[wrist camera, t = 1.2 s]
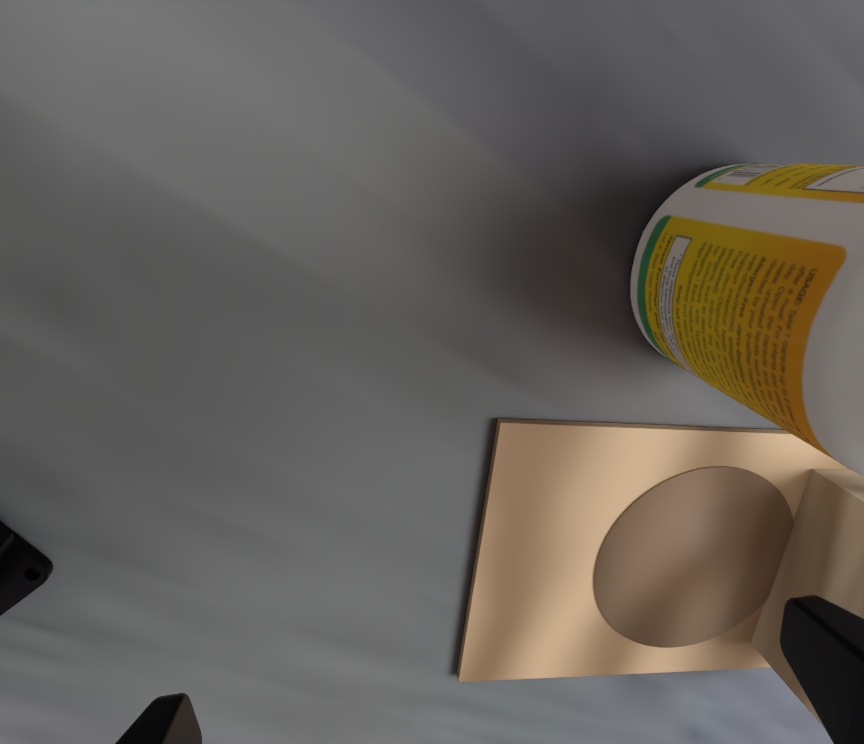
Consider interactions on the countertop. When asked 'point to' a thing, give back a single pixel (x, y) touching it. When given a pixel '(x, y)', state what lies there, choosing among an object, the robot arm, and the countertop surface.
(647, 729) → the countertop surface
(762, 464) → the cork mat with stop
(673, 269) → the supplement bottle
